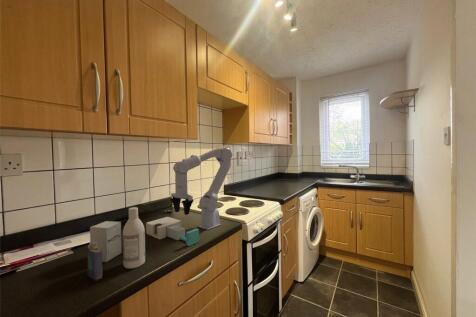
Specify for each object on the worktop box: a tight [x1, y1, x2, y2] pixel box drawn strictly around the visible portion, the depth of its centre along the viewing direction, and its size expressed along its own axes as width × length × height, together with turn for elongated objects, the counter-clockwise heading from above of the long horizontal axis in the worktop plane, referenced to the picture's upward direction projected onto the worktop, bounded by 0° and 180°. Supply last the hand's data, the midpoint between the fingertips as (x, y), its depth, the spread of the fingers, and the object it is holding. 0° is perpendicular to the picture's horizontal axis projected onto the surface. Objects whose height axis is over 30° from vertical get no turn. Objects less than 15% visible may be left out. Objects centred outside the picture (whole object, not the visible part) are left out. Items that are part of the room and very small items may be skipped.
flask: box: [87, 242, 104, 281], centre depth 66 cm, size 9×3×11 cm, turn 49°
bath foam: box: [122, 206, 146, 270], centre depth 72 cm, size 7×7×20 cm
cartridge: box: [166, 225, 200, 247], centre depth 93 cm, size 6×20×6 cm, turn 52°
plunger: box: [155, 223, 161, 234], centre depth 97 cm, size 3×3×4 cm
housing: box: [145, 216, 182, 240], centre depth 102 cm, size 12×12×5 cm
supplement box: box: [89, 220, 122, 263], centre depth 78 cm, size 7×7×13 cm
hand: (181, 213), depth 100 cm, fingers open, 7 cm apart
